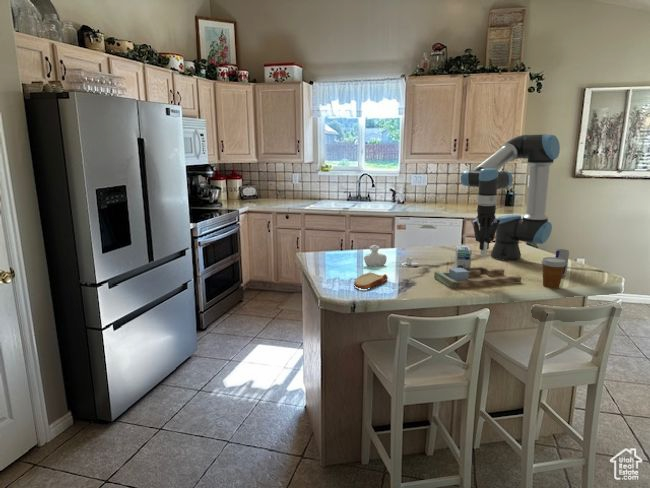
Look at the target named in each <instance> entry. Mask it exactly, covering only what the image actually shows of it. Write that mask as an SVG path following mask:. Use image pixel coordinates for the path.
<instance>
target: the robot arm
mask: <svg viewBox="0 0 650 488" xmlns="http://www.w3.org/2000/svg"><path fill="white" fill-rule="evenodd" d="M560 145H561V144H560V142H559V139H558V137H557V136H556V135H554V134H546V133H545V134H521V135H518V136H515V137H513V138H511V139H509V140H507V141H506V142H504V143H503V144H502V145H501V146H500V147H499V149H498V150H497V151H496V152H495V153H493V154H492V155H490V156H489V157H488V158H486V159H485V160H483V162H481V163H480V164H479V165H478V166H475V168H474V169H468V170H467V169H465V170H463V171H462V173H461V175H460V182H461V184H462V185H463V186H465V187H468V188H470V187H473V188H478V193H477V194H478V195H477V203H478V204H477V211H476V212H477V216H476V218H475V220H472V221H471V224H472V226H473V231H474V239H475V241H476V242H478V243H479V250H480V257H482V258H487V257H488V250H489V249H490V248H489V247H490V244H491V243H492V242H493V241H495V243H494V245H493V247H492V250H491V252H490V257H491V258H493V259H496V260H501V261H507V262H510V261H512V262H513V261H519V260H522V259H521V258H522V254H521V249H520V246H519V245H520V243H519V241H520V242H525V243H532V244H533V245H535V244H539V245H542V244H545V243H547V241H548V240H549V238H550V236H551V233H552V231H553V229H552V228H553V225H552V222H550V221H548V220H549V217H548V216H547V215H546V210H547V209H546V207H547V197H548V188H549V187H548V185H549V178H550V177H549V174H550V167H551V165H552V164H554V161H555V160H556V159H558V157H559V154H560V151H561V146H560ZM516 159H517V160H518V159H524V160H525V159H526V160H527V162H526V163H527V164H528V165H529V166H530V168H529V177H528V190H527V191H528V192H527V203H526V212H525V214H524V215H523V216H522V215H519V214H508V215H507V214H505V215H501V216H498V217H496V212H497V205H496V204H497V195H498V193H497V192H498V190H500V189H506V188H508V187H510V186H511V185H512V184H513V181H514V180H513V179H514V177H513V174H512V173H511V172H509V171H507V170H500V169H501V168H503V167H504V166H505V165H507V164H508V163H509V162H510V163H511V162H514V160H516ZM499 170H500V171H499ZM494 239H495V240H494Z"/></svg>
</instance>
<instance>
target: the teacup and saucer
mask: <svg viewBox="0 0 650 488" xmlns="http://www.w3.org/2000/svg"><path fill="white" fill-rule="evenodd" d="M401 266H403V267H410V268H411V267H417V266H419V263H418V262H413V257H412V256H411V257H410V256H407V257H405V262H402V263H401Z"/></svg>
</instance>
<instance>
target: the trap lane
mask: <svg viewBox="0 0 650 488" xmlns="http://www.w3.org/2000/svg"><path fill="white" fill-rule="evenodd" d="M463 269H465V270H467V271H469V276H468V278H473V277H475V278H476V277H481V274H484V275H486V276H488V278H477V279H468V280H464V281H455V280H453V279H451V278H450V277H449V271H439V270H438V271H437V270H436V271H434V277H433V279H436V280H437V281H439V282H441V283H442V284H444V285H446V286H447V287H448V288H450V289H462V288H464V289H465V288H474V287H484V286H485V287H486V285H487V286H495V285H496V286H498V285H507V284H508V283H509V284H517V283H521V282H522V276H520V275H512V276H504V275H505V269H503V268H495V269H494V268H493V269H492V268H491V269H489V268H487V267H483V266H477V267H475V266H474V267H470V268H463ZM494 276H496V277H494ZM497 276H499V277H497ZM500 276H501V277H500ZM489 277H490V278H489Z"/></svg>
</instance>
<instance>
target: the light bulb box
mask: <svg viewBox="0 0 650 488" xmlns="http://www.w3.org/2000/svg"><path fill="white" fill-rule="evenodd" d="M472 252H473V251H472V249H471V247H470V245H462V244H455V260H454V268H472V267H471V265H472Z"/></svg>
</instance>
